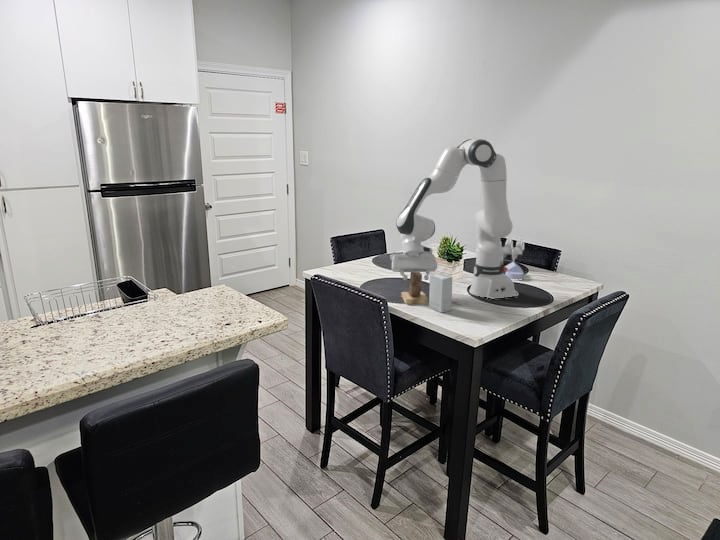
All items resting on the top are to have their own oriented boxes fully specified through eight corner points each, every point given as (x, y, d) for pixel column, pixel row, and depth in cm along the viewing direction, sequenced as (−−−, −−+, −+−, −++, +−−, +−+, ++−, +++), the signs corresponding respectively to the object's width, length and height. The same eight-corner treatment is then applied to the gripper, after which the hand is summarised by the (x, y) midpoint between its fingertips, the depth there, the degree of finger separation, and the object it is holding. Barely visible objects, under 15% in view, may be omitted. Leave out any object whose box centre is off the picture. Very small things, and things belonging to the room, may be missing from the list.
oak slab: (422, 297, 219) (422, 291, 219) (428, 305, 210) (428, 299, 209) (400, 298, 218) (401, 291, 217) (405, 305, 209) (406, 299, 208)
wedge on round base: (503, 272, 261) (505, 279, 249) (504, 260, 259) (507, 267, 247) (520, 274, 260) (524, 281, 247) (522, 262, 258) (525, 268, 245)
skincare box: (451, 310, 203) (454, 277, 199) (440, 313, 200) (443, 279, 195) (437, 304, 210) (440, 272, 205) (427, 307, 206) (429, 273, 202)
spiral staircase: (475, 268, 283) (519, 269, 279) (476, 262, 266) (524, 263, 261) (476, 237, 286) (519, 238, 282) (477, 230, 269) (524, 231, 264)
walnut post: (417, 293, 215) (419, 272, 213) (420, 296, 212) (422, 274, 209) (408, 293, 215) (410, 272, 212) (411, 296, 211) (413, 274, 208)
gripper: (390, 248, 213) (394, 276, 206) (435, 248, 216) (440, 275, 209) (388, 256, 218) (391, 283, 212) (432, 255, 221) (436, 282, 215)
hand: (416, 279), depth 211 cm, fingers open, 8 cm apart
